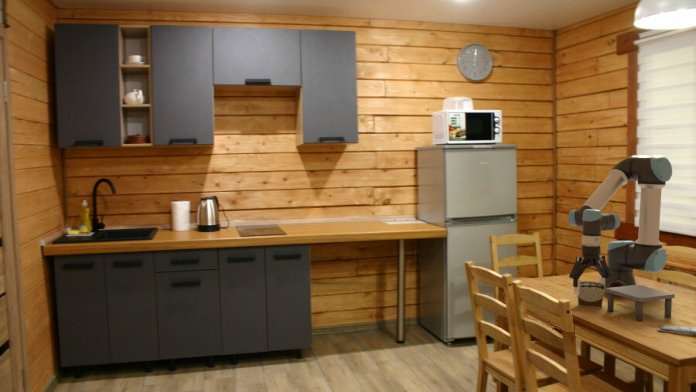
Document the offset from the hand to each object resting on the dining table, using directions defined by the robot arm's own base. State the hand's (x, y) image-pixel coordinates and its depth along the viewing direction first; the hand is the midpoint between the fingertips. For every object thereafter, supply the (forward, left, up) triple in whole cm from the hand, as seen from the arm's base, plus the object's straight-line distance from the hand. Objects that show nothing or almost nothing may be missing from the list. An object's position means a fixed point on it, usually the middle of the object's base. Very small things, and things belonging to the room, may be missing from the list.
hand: (589, 293), depth 255 cm
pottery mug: (-24, -8, -6) cm, 26 cm away
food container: (0, 0, -6) cm, 6 cm away
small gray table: (-9, +18, -5) cm, 21 cm away
